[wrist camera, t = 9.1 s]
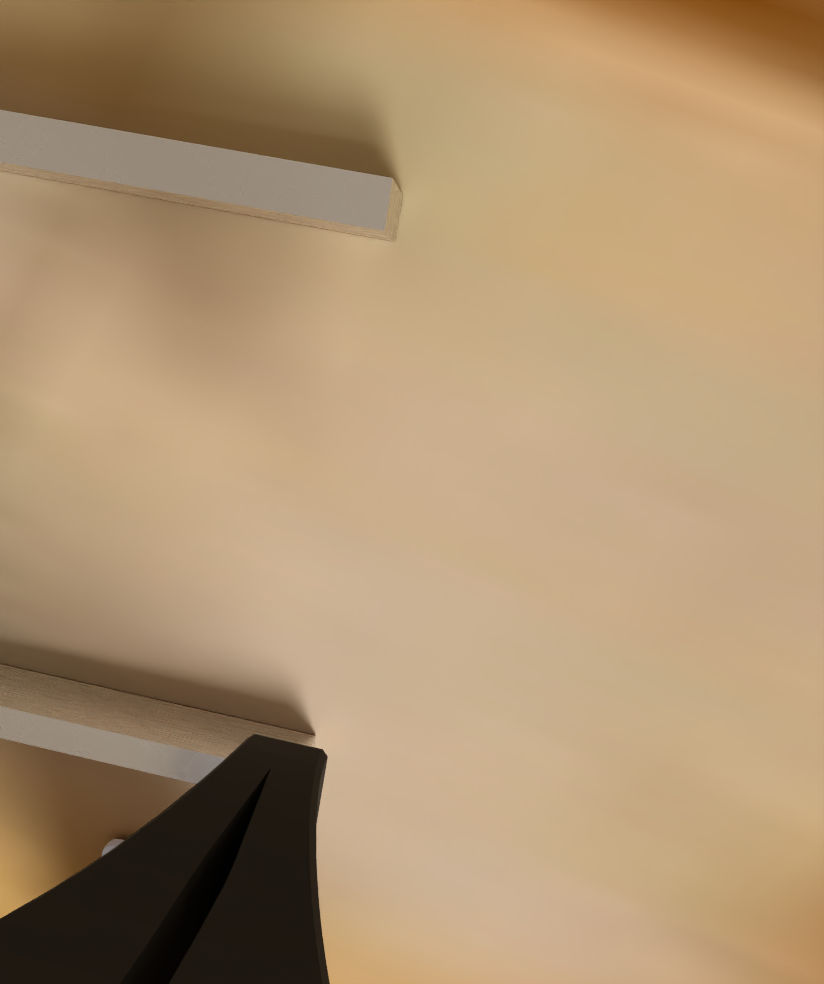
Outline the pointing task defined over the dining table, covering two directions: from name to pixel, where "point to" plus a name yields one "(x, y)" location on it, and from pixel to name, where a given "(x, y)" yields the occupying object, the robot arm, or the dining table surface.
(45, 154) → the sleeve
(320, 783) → the robot arm
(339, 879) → the dining table surface
